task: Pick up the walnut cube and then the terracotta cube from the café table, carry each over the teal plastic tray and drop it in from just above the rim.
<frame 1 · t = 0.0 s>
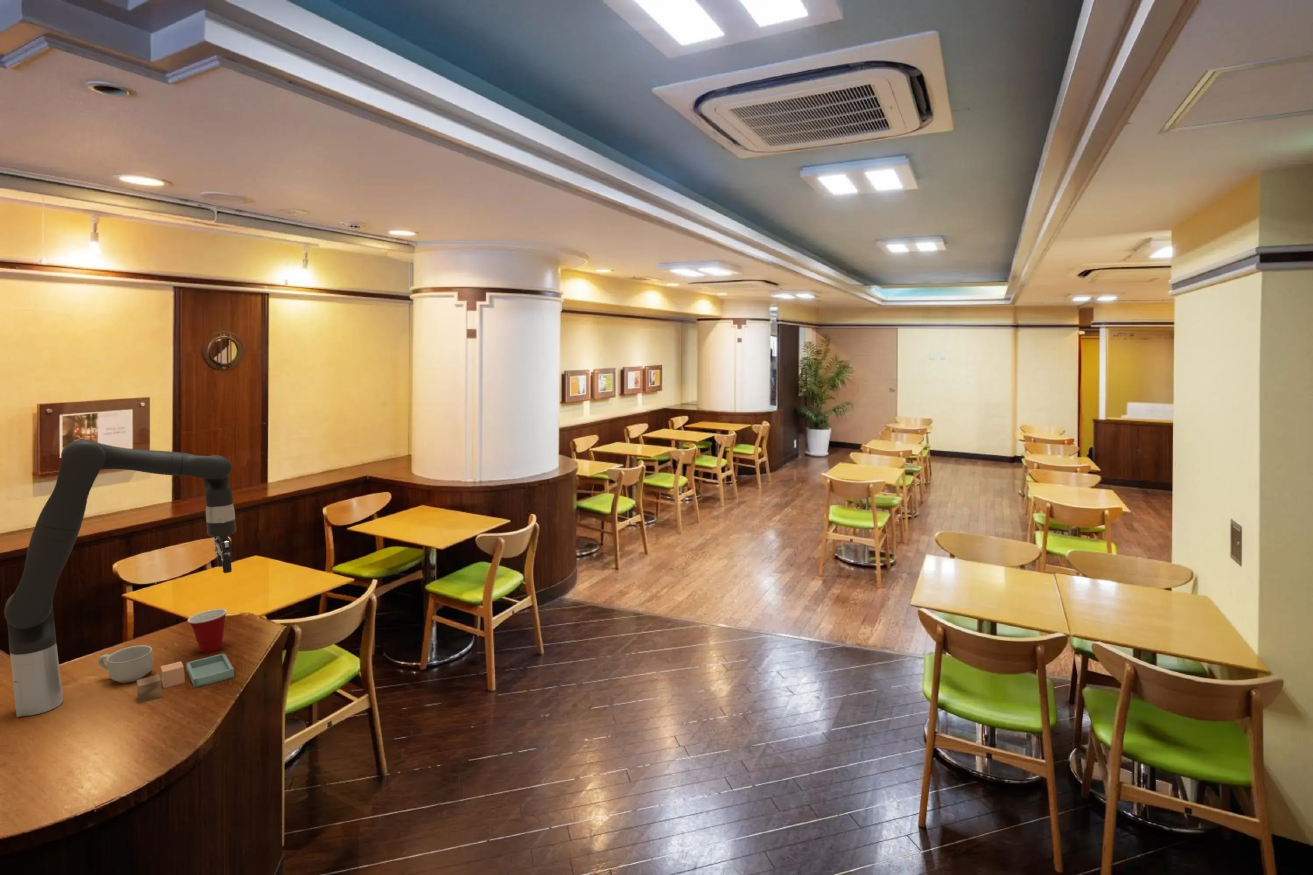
hand: (224, 569, 208), 29 cm above the counter, fingers open, 8 cm apart
walnut cube: (150, 696, 187), on the counter
plastic cup: (210, 649, 218), on the counter
terracotta cube: (173, 682, 195), on the counter
teacup: (127, 678, 198), on the counter
tray: (210, 673, 201), on the counter
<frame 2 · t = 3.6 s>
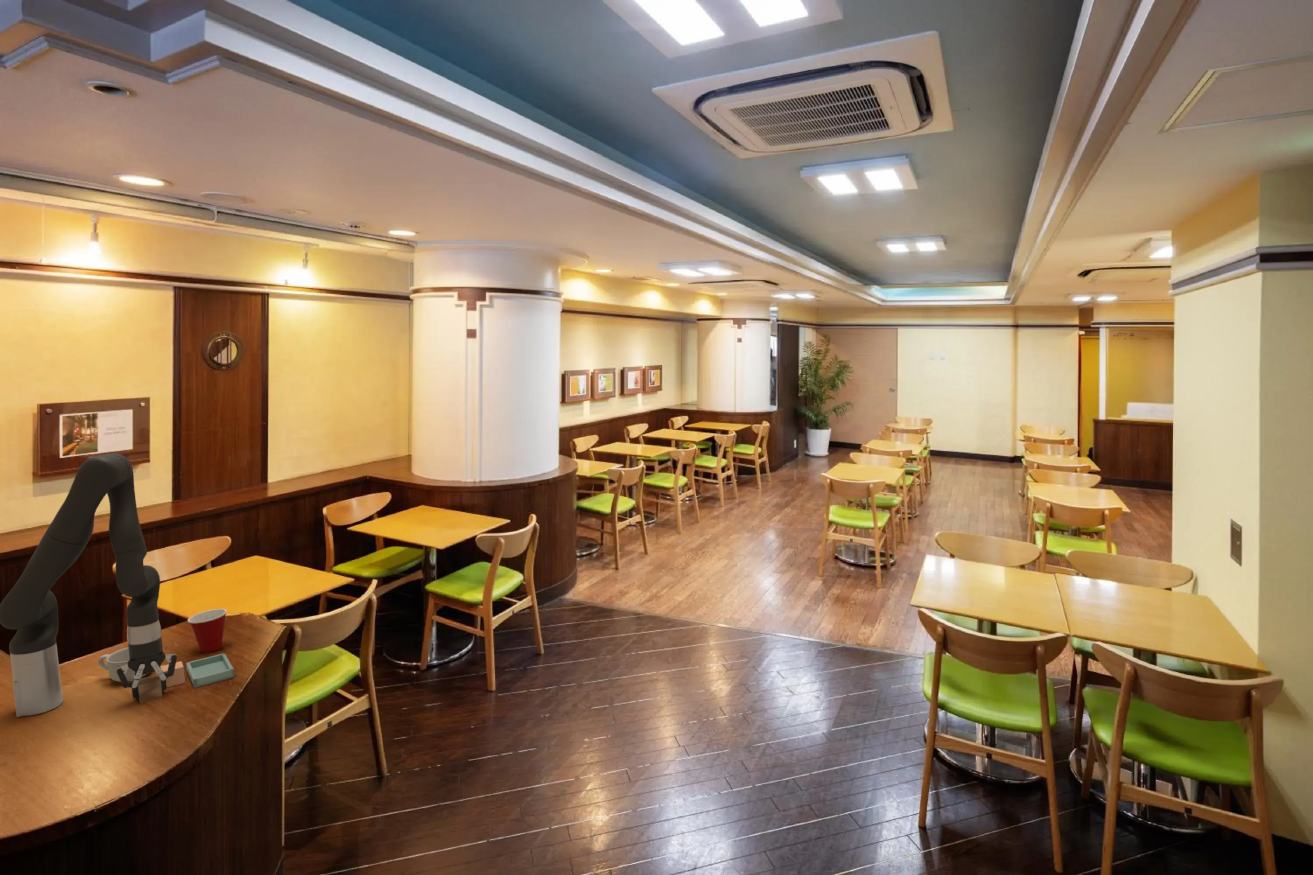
hand: (150, 694, 187), 0 cm above the counter, fingers closed on walnut cube, 5 cm apart
walnut cube: (150, 696, 187), on the counter, touching gripper
everything else where it was.
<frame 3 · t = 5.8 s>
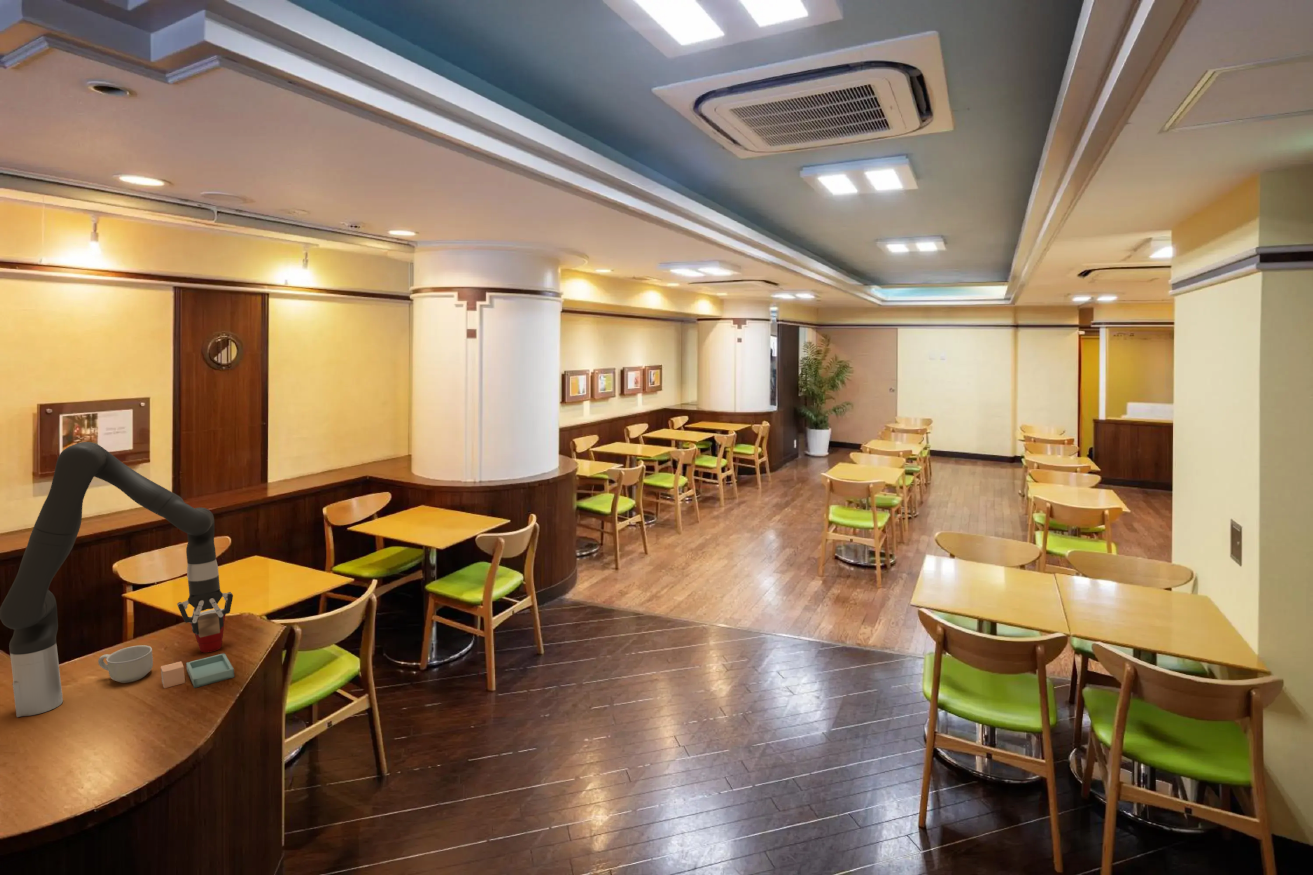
hand: (208, 630, 196), 15 cm above the counter, fingers closed on walnut cube, 5 cm apart
walnut cube: (208, 632, 196), point 14 cm above the counter, touching gripper
everything else where it was.
when the fingers open (4 cm above the counter, at t = 7.9 s): walnut cube drops 3 cm, resting on tray.
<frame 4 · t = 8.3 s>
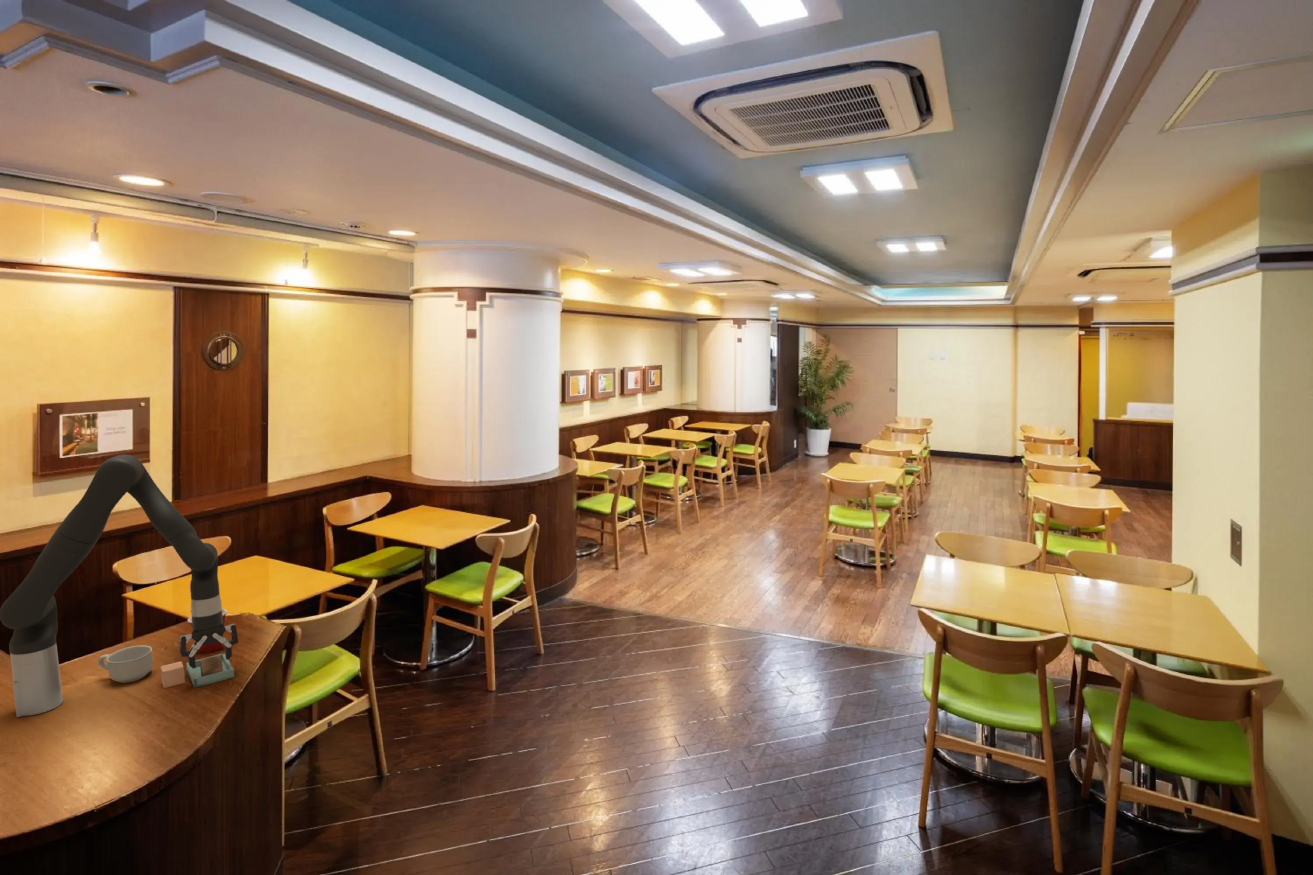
hand: (211, 663, 197), 5 cm above the counter, fingers open, 8 cm apart
walnut cube: (212, 675, 198), point 1 cm above the counter, touching tray
everything else where it was.
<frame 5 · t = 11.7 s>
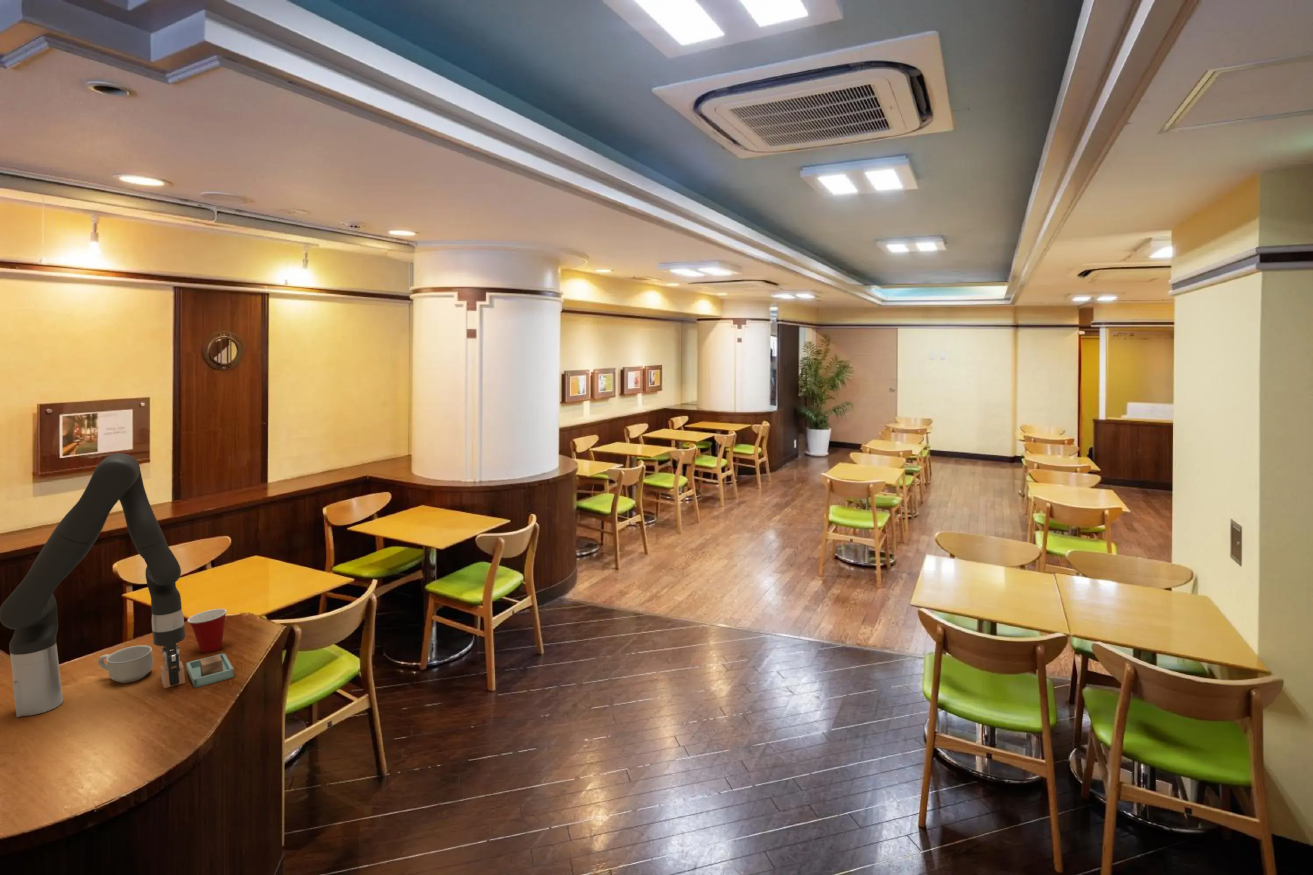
hand: (173, 680, 195), 0 cm above the counter, fingers closed on terracotta cube, 5 cm apart
terracotta cube: (173, 682, 195), on the counter, touching gripper
everything else where it was.
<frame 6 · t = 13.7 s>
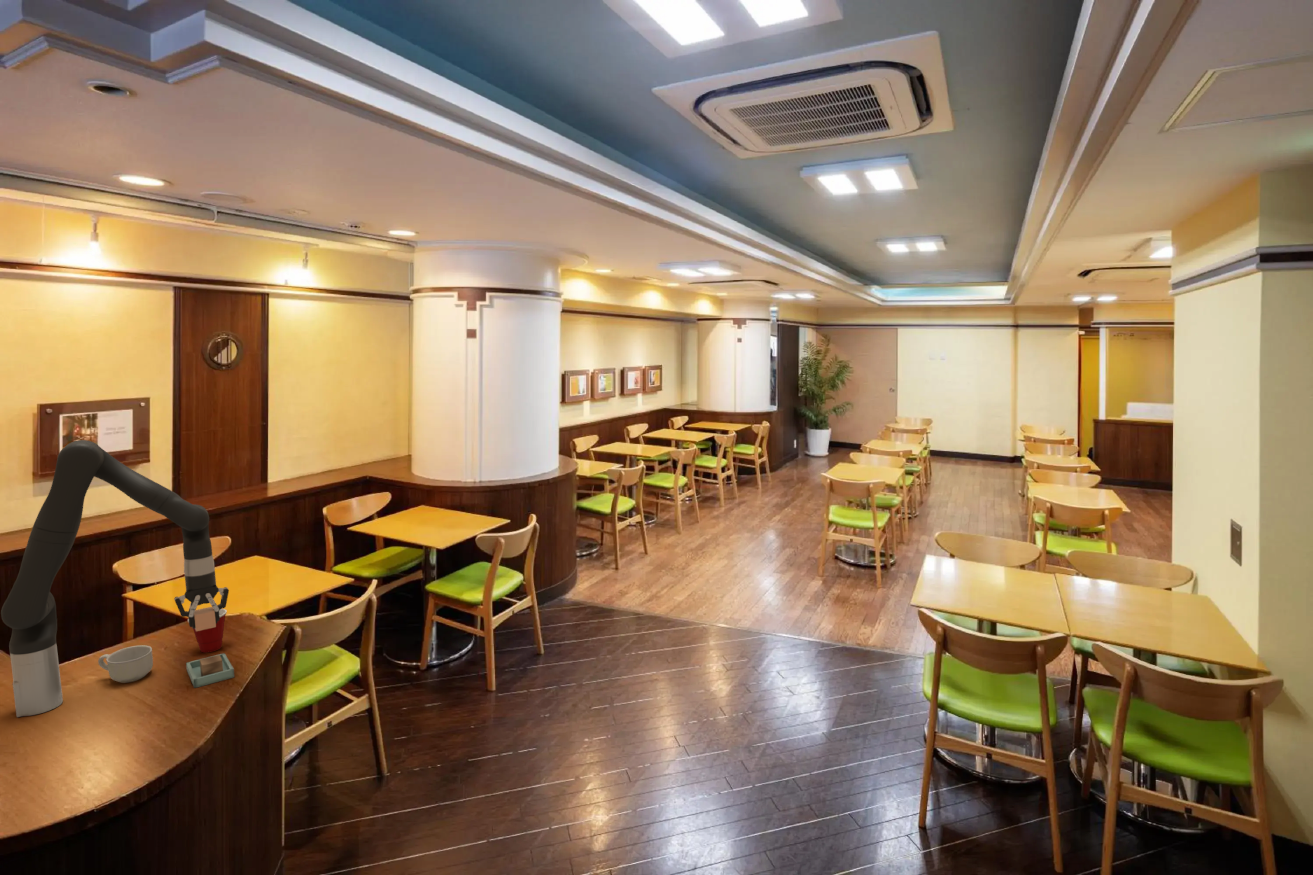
hand: (204, 624, 201), 15 cm above the counter, fingers closed on terracotta cube, 5 cm apart
terracotta cube: (204, 626, 201), point 14 cm above the counter, touching gripper
everything else where it was.
when the fingers open (4 cm above the counter, at t = 15.8 s): terracotta cube drops 3 cm, resting on tray.
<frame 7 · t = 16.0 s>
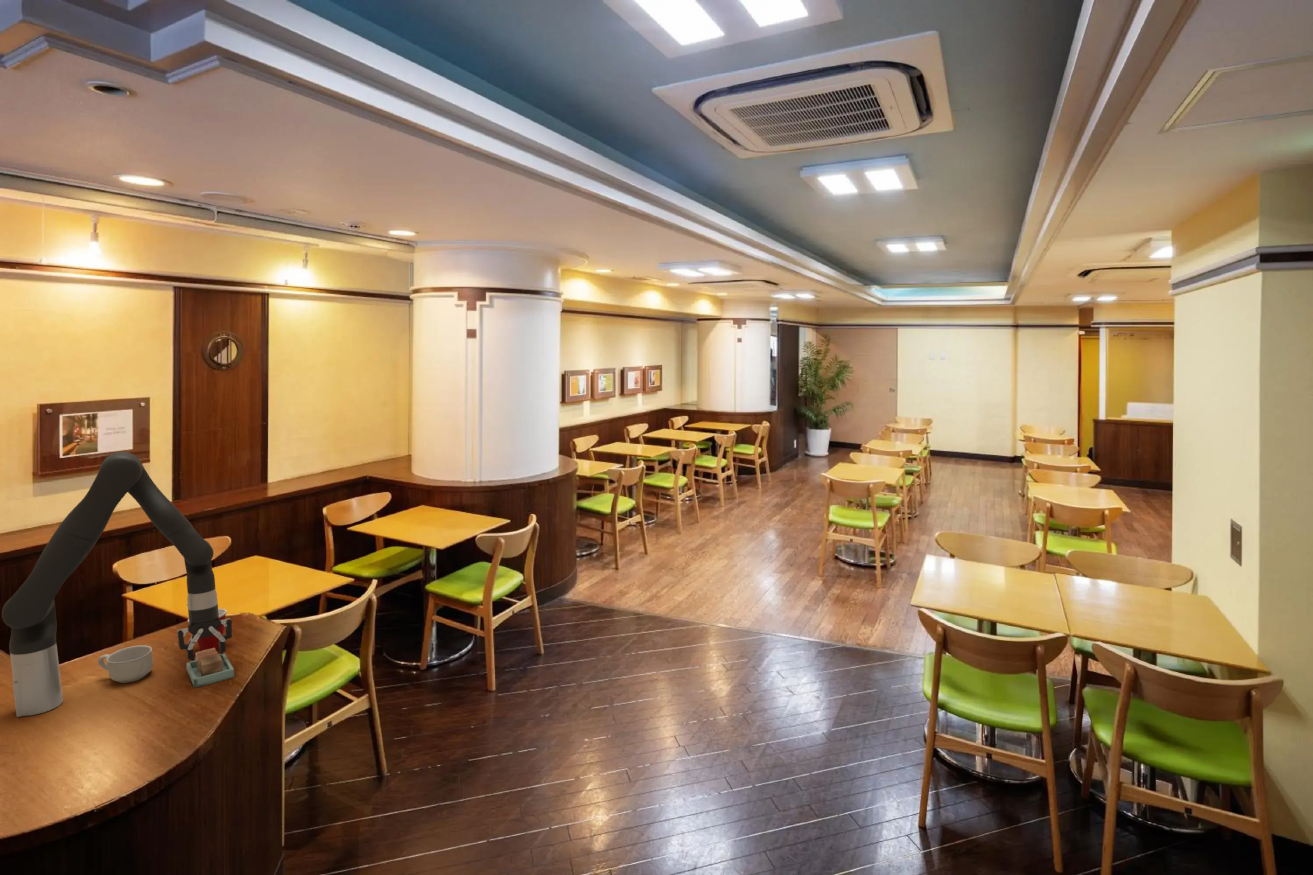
hand: (207, 656, 203), 4 cm above the counter, fingers open, 7 cm apart
terracotta cube: (207, 668, 203), point 1 cm above the counter, touching tray
everything else where it was.
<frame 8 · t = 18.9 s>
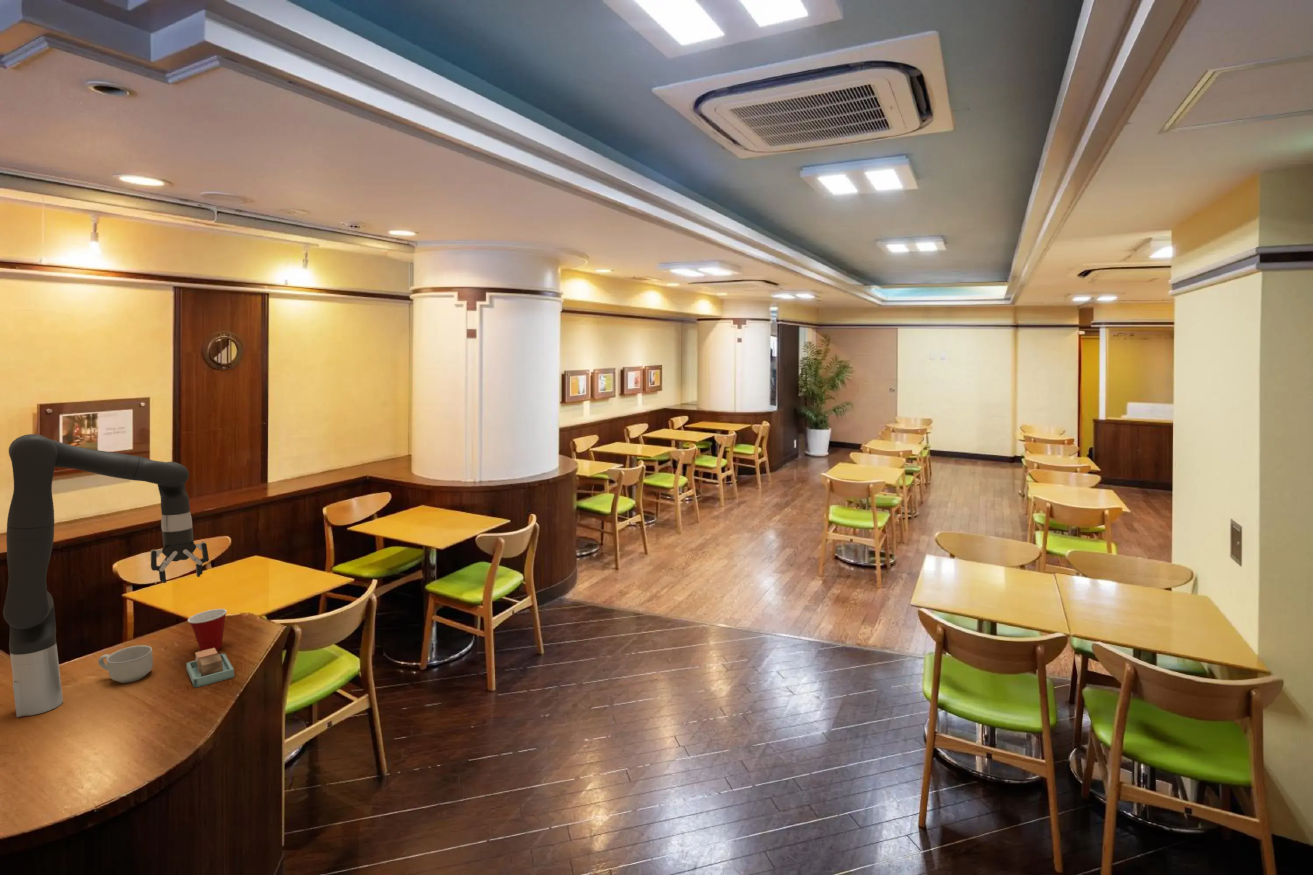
hand: (181, 579, 202), 28 cm above the counter, fingers open, 8 cm apart
nothing on the counter moved.
at the end: walnut cube inside the target area on the tray (3.5 cm from its centre), point 0.6 cm above the tray's base; terracotta cube inside the target area on the tray (3.5 cm from its centre), point 0.6 cm above the tray's base; the gripper is holding nothing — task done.
